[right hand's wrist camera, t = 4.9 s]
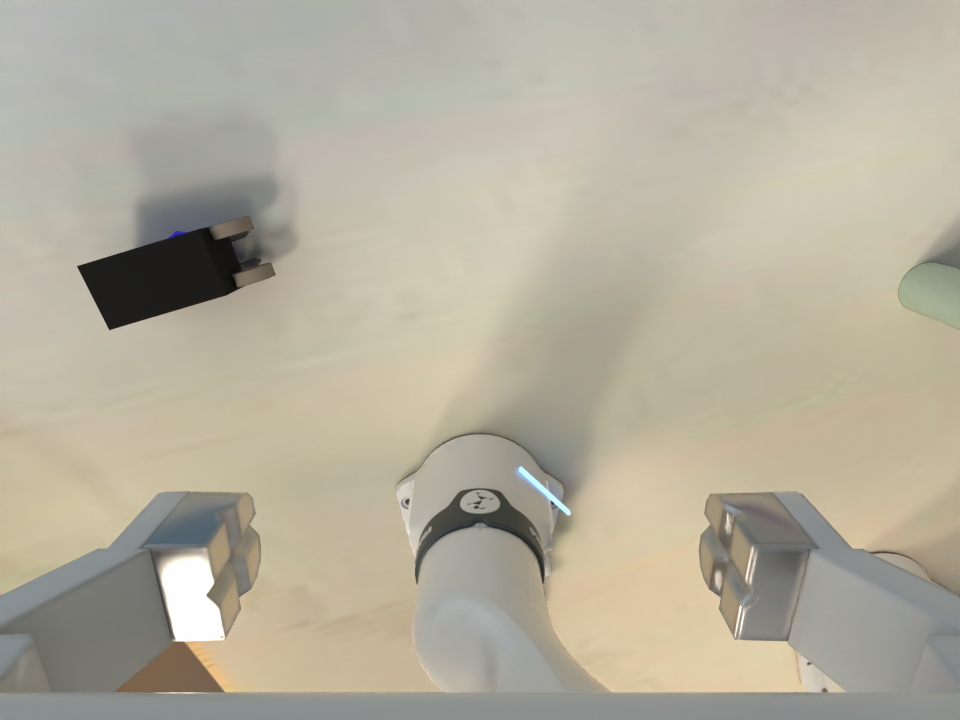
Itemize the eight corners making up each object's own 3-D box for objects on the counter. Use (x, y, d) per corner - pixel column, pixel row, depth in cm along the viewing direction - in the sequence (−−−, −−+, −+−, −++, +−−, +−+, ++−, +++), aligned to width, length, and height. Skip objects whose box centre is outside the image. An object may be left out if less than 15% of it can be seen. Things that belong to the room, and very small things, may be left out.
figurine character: (259, 204, 56) (111, 252, 56) (237, 210, 49) (68, 266, 49) (287, 269, 59) (145, 316, 59) (270, 285, 51) (108, 338, 51)
